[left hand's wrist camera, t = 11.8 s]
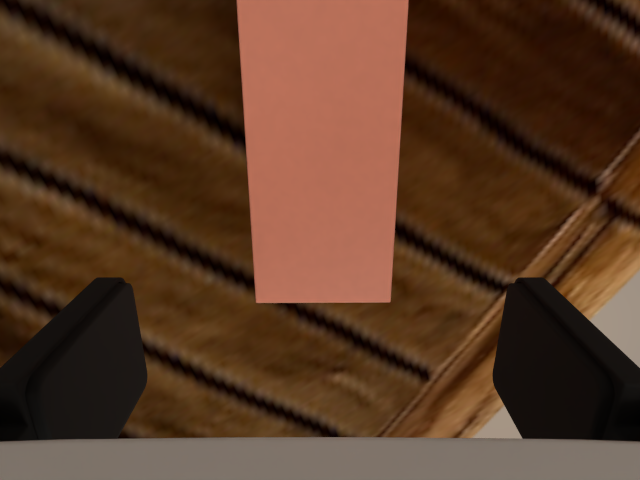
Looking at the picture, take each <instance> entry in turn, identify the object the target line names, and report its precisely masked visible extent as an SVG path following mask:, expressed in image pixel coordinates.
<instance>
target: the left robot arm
mask: <svg viewBox="0 0 640 480" xmlns="http://www.w3.org/2000/svg"><path fill="white" fill-rule="evenodd" d="M146 383H147V369H146V363H145V357H144V351H143V345H142V339H141V334H140V328H139V322H138V316H137V310H136V305H135V299H134V293H133V288H132V286H131V284H129V283H125V281H124V279H123V278H96V279H95V280H93V281H92V282H91V283H90V284H89V285H88V286H87V287H86V288H85V289H84V290H83V291H82V292H81V293H80V294H79V295H78V296H76V297H75V298H74V299H73V300H72V301H71V302H70V303H69V304H68V305H67V306H66V307H65V308H64V309H63V310H62V311H61V312H59V313H58V314H57V315H56V316H55V317H54V318H53V319H52V320H51V321H50V322H49V323H48V324H47V325H46V326H45V327H43V328H42V329H41V330H40V331H39V332H38V333H37V334H36V335H35V336H34V337H33V338H32V339H31V340H30V341H29V342H28V343H26V344H25V345H24V346H23V347H22V348H21V349H20V350H19V351H18V352H17V353H16V354H15V355H14V356H13V357H12V358H11V359H9V360H8V361H7V362H6V363H5V364H4V365H3V366H2V367H1V368H0V480H640V368H639V367H638V366H637V365H636V364H635V363H634V362H633V361H632V360H631V359H629V358H628V357H627V356H626V355H625V354H624V353H623V352H622V351H621V350H620V349H619V348H618V347H617V346H616V345H615V344H614V343H612V342H611V341H610V340H609V339H608V338H607V337H606V336H605V335H604V334H603V333H602V332H601V331H600V330H599V329H598V328H596V327H595V326H594V325H593V324H592V323H591V322H590V321H589V320H588V319H587V318H586V317H585V316H584V315H583V314H582V313H581V312H579V311H578V310H577V309H576V308H575V307H574V306H573V305H572V304H571V303H570V302H569V301H568V300H567V299H566V298H565V297H564V296H562V295H561V294H560V293H559V292H558V291H557V290H556V289H555V288H554V287H553V286H552V285H551V284H550V283H549V282H548V281H547V280H545V279H544V278H517V279H516V281H515V283H511V284H509V286H508V288H507V293H506V299H505V305H504V310H503V316H502V322H501V328H500V334H499V339H498V345H497V351H496V357H495V363H494V369H493V383H494V386H495V389H496V391H497V392H498V394H499V396H500V398H501V400H502V402H503V403H504V405H505V407H506V409H507V411H508V413H509V414H510V416H511V418H512V420H513V422H514V424H515V425H516V427H517V429H518V431H519V433H520V435H521V436H522V438H523V439H490V438H380V437H261V438H151V439H117V438H118V436H119V435H120V433H121V431H122V429H123V427H124V425H125V424H126V422H127V420H128V418H129V416H130V414H131V413H132V411H133V409H134V407H135V405H136V403H137V402H138V400H139V398H140V396H141V394H142V392H143V391H144V389H145V386H146Z"/></svg>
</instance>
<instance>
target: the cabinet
mask: <svg viewBox="0 0 640 480" xmlns="http://www.w3.org/2000/svg"><path fill="white" fill-rule="evenodd" d="M236 1H237V16H238V32H239V47H240V62H241V78H242V93H243V109H244V124H245V140H246V155H247V171H248V186H249V202H250V217H251V233H252V248H253V264H254V279H255V295H256V303H330V302H390V301H391V284H392V267H393V250H394V234H395V217H396V200H397V184H398V167H399V150H400V134H401V117H402V100H403V83H404V67H405V50H406V33H407V17H408V0H236Z"/></svg>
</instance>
